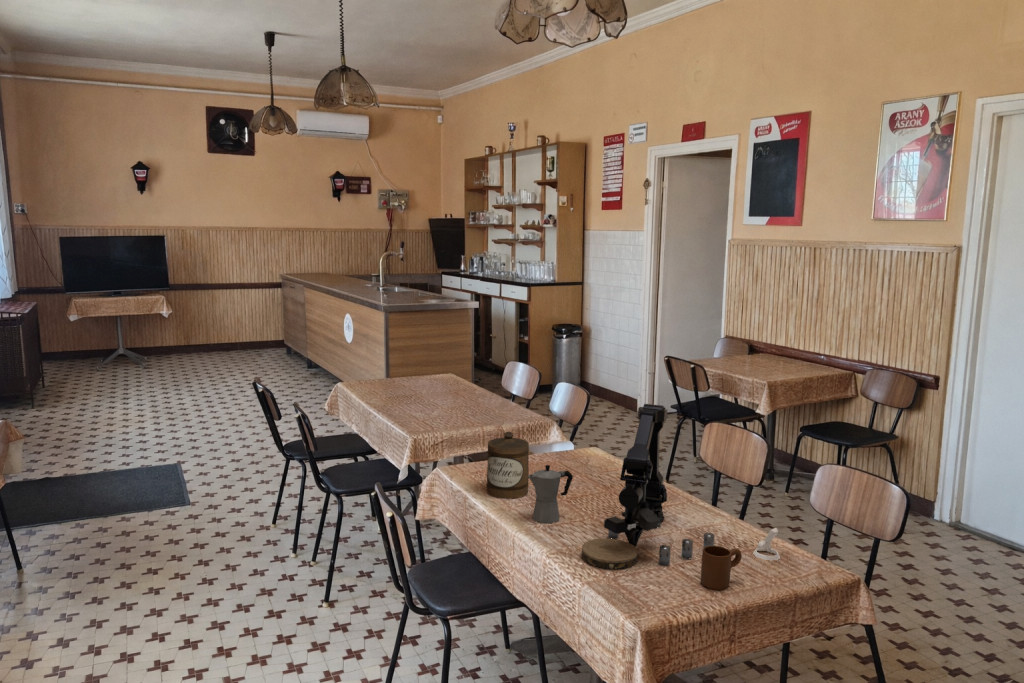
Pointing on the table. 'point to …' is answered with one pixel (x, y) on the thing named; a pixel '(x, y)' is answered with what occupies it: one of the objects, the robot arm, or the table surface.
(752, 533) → the table surface
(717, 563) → the mug
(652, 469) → the robot arm
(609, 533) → the grey metal cylinder set
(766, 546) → the hook
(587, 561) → the brown wooden disc
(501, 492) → the wooden container
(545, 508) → the coffeepot
